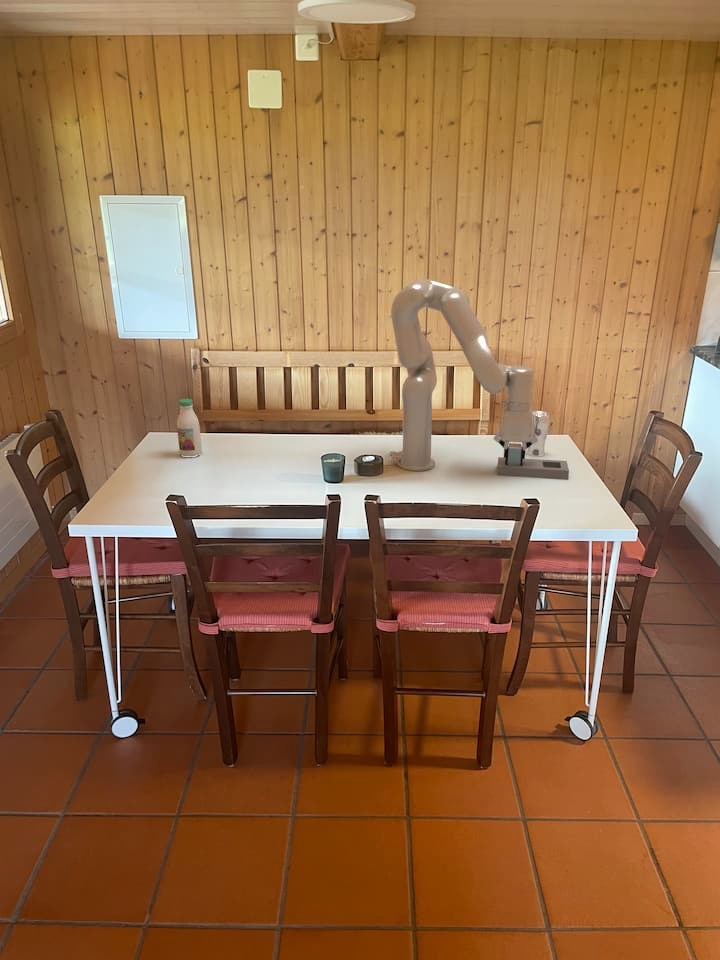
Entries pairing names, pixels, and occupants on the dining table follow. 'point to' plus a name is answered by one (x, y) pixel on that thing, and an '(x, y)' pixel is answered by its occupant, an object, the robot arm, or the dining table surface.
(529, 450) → the beer glass
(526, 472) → the panel
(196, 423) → the milk bottle
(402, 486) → the dining table surface
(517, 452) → the plug
